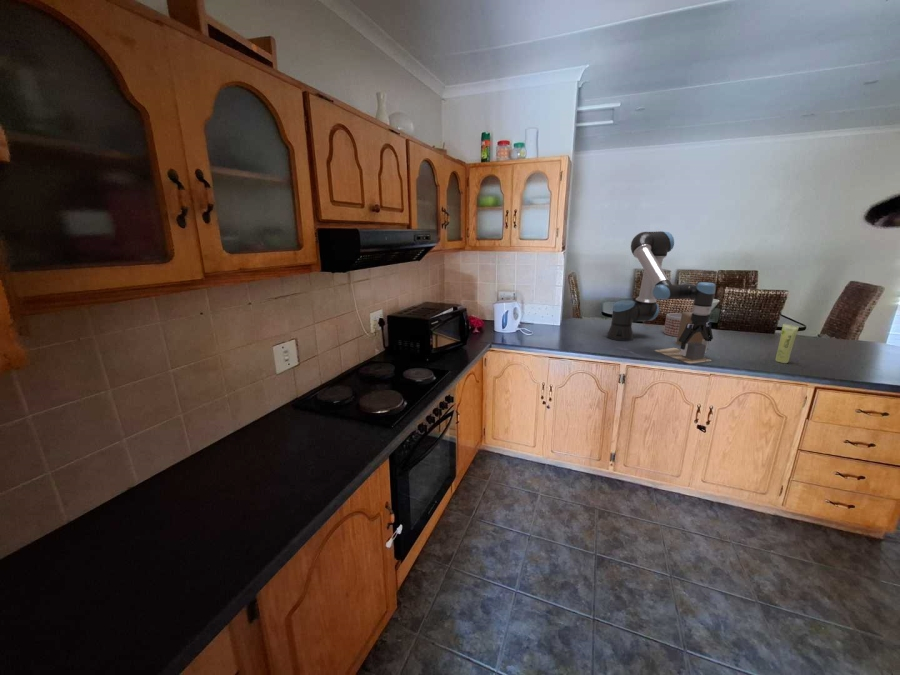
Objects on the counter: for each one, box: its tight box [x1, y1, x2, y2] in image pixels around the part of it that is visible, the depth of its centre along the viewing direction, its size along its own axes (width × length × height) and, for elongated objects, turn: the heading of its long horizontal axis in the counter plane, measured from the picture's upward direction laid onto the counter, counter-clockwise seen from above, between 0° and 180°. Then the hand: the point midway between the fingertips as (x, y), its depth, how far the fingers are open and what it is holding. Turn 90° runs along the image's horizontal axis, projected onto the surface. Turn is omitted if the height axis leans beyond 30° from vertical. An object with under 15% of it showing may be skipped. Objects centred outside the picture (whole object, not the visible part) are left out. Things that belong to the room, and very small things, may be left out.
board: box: [653, 347, 712, 365], centre depth 190 cm, size 22×15×1 cm
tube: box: [775, 323, 800, 364], centre depth 179 cm, size 6×5×20 cm
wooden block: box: [676, 311, 704, 347], centre depth 203 cm, size 10×10×20 cm
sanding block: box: [682, 342, 706, 362], centre depth 183 cm, size 6×7×8 cm
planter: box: [663, 312, 682, 338], centre depth 230 cm, size 14×14×13 cm
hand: (692, 353), depth 183 cm, fingers open, 13 cm apart
